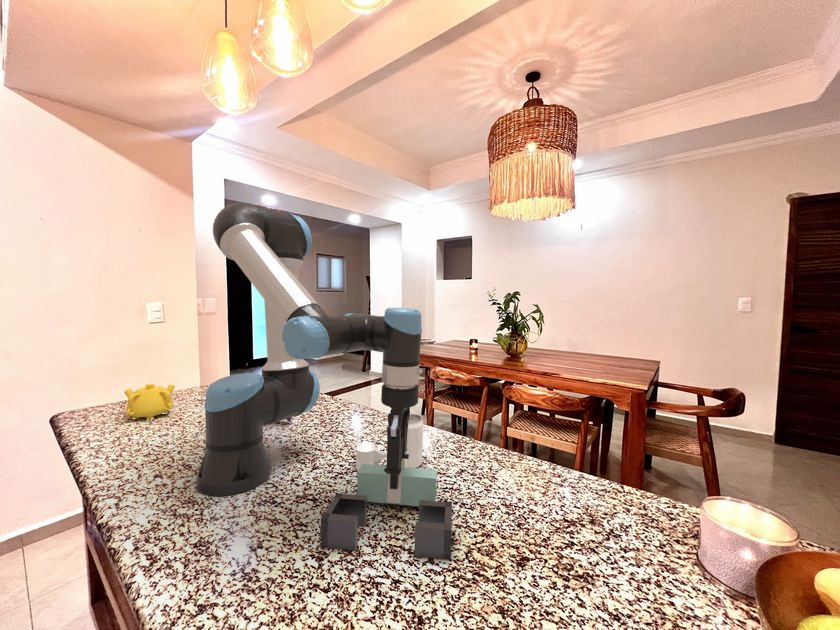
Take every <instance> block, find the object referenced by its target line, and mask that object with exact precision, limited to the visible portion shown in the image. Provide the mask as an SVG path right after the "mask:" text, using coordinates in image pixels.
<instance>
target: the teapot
mask: <svg viewBox="0 0 840 630" xmlns="http://www.w3.org/2000/svg"><path fill="white" fill-rule="evenodd" d="M155 384H156V383H146V384H145V386H144V387H141V388H140V387H139V388H137V389H136V390H135V391H133V389H132V388H128V389H126V390H124V395H125V396H126V397H127V405H126V411H125V412H126V415H127V416H132V418H138V417H140V418H145V420H146V419H151V418H154V419H155V416H158V415H159V416H160V414H162V413H166V412H167V413H168V412H169V410H171V409H172V408H173V405H174V403H173V402H174V400H173V398H172V394H173V392H174V390H175V387H176V386H175V385H174V384H168V386H167V388H165V387H164V386H161V385H155ZM138 419H139V418H138Z"/></svg>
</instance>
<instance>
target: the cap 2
mask: <svg viewBox="0 0 840 630" xmlns="http://www.w3.org/2000/svg"><path fill="white" fill-rule="evenodd" d="M452 511H453V502H449V501H447V502H446V501H437V500H436V501H426V500H420V502H419V506H418V521H417V520H416V521H415V526H414V553H413V554H414V555H413V556H414V557H415V558H428V559H438V560H447V561H451V560H452V532H453V531H452V530H453V529H452V527H453V526H452V524H453V521H452V520H453V512H452Z"/></svg>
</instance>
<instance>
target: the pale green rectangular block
mask: <svg viewBox="0 0 840 630" xmlns="http://www.w3.org/2000/svg"><path fill="white" fill-rule="evenodd" d="M386 466H387V465H380V464H379V465H370V464H362V465H361V467H360V469H359V470H357V475H356V478H357V480H356V482H357V485H356V488H357V489H356V495H364V496H367V503H377V504H387V505H388V504H389V505H391V504H392V505H401V506H409V507H410V506H411V507H419V502H420V500H426V501H437V489H438V488H437V481H438V480H437V478H438V469H430V468H421V467H420V468H419V467H417V468H408V467H401V469H402V485H401V502H400V504H399V503H390V502H387V487H388V474H386V472H384V469H385V468H386Z"/></svg>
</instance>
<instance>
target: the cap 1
mask: <svg viewBox="0 0 840 630" xmlns="http://www.w3.org/2000/svg"><path fill="white" fill-rule="evenodd" d="M367 522H368V502H367V496H364V495H357V494H352V493H351V494H350V493H349V494H348V493H341V492H340V493H338V492H336V493H335V495H334V497H333V498H332V499H331V501H330V503H329V504H328V506H327V507H326V510H325V511H324V513H323V514H322V516H321V518H320V548H324V549H335V550H344V551H356V550H357V547H358V545H359V544H358V543H359V542H358V540H359V539H358V537H359V527H363V528H364V527H366V524H367Z"/></svg>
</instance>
